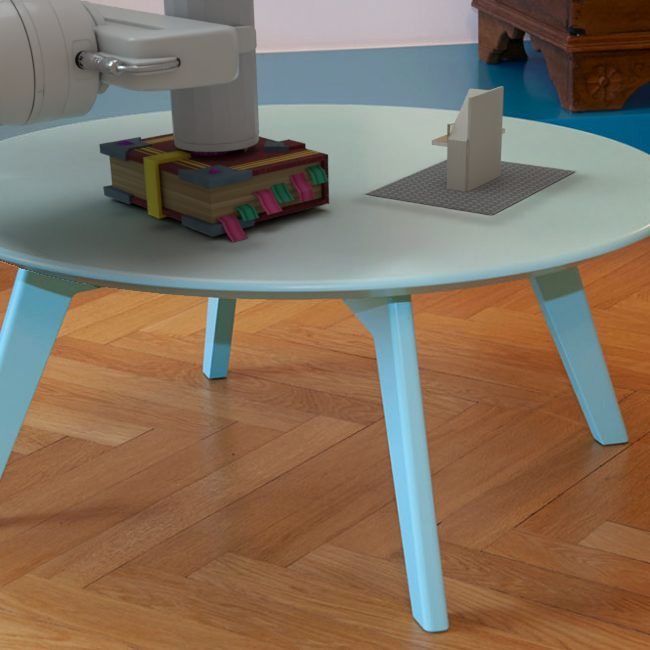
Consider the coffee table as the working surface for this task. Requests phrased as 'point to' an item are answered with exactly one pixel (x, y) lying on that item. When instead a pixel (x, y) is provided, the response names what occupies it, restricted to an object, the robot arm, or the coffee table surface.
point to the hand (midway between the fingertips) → (220, 32)
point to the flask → (217, 88)
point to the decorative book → (217, 182)
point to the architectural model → (474, 164)
